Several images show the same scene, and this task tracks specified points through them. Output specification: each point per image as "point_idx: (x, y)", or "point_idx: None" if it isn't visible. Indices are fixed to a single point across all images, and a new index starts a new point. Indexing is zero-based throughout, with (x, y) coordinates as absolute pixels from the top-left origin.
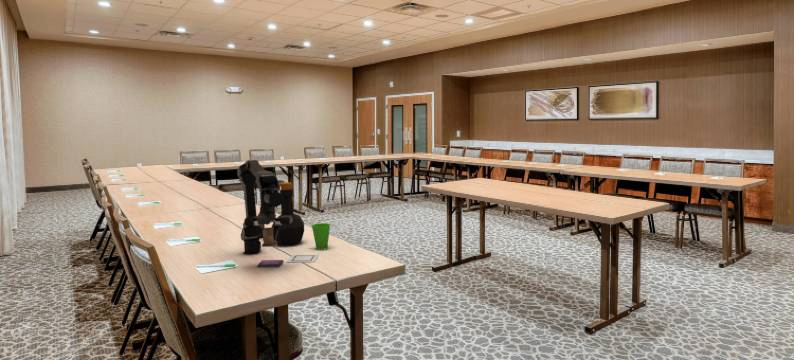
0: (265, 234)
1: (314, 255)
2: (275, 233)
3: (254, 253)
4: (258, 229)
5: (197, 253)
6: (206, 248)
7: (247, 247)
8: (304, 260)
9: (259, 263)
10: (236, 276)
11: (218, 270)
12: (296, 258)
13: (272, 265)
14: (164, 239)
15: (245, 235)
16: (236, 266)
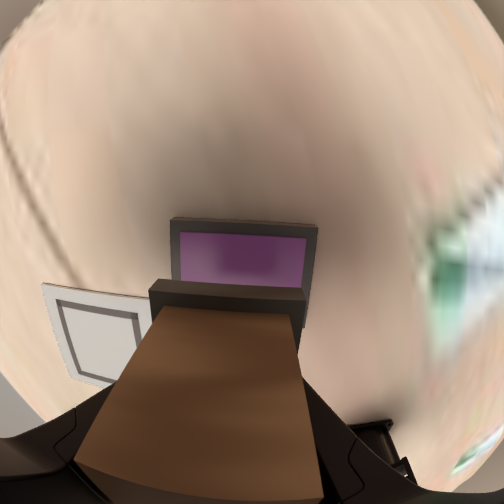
0: (255, 410)
1: (77, 370)
2: (89, 411)
3: (352, 426)
4: (413, 484)
5: (493, 395)
6: (466, 432)
7: (383, 443)
8: (80, 308)
9: (310, 259)
10: (385, 70)
11: (479, 199)
12: (129, 351)
13: (215, 220)
14: (497, 443)
15: (409, 476)
16: (425, 256)
